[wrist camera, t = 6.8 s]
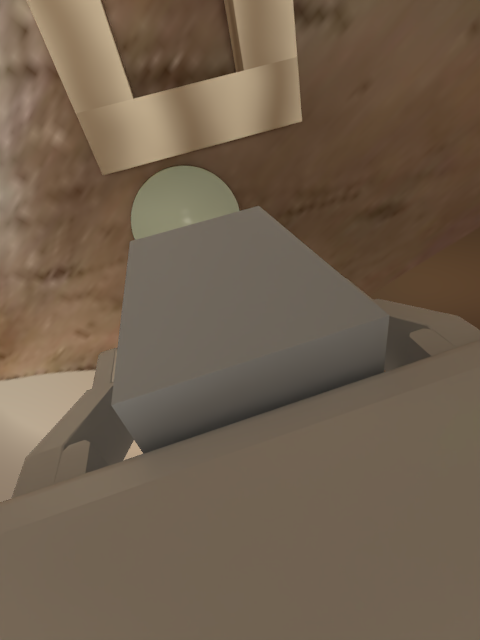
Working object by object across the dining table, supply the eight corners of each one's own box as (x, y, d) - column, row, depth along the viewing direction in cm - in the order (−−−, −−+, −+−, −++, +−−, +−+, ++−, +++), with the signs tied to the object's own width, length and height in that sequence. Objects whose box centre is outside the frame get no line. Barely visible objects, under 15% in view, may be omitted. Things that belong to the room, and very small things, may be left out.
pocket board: (259, -213, 18) (273, -254, 16) (290, 120, 27) (302, 121, 25) (-33, -157, 16) (-58, -193, 14) (106, 170, 26) (102, 175, 24)
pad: (226, 151, 27) (227, 152, 27) (248, 256, 33) (249, 258, 33) (111, 182, 26) (110, 184, 26) (154, 284, 32) (154, 287, 32)
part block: (258, 205, 12) (389, 314, 6) (275, 311, 15) (373, 464, 9) (130, 241, 12) (110, 405, 5) (172, 343, 15) (194, 530, 8)
